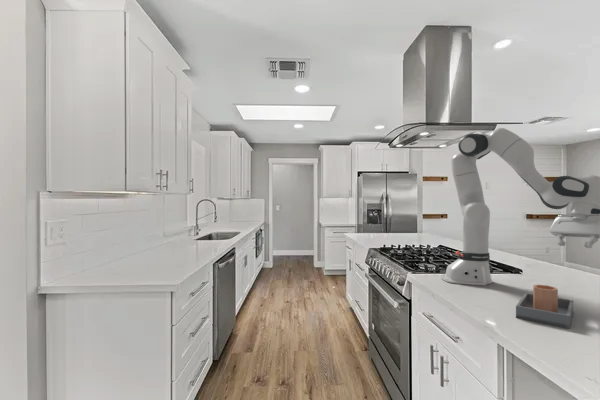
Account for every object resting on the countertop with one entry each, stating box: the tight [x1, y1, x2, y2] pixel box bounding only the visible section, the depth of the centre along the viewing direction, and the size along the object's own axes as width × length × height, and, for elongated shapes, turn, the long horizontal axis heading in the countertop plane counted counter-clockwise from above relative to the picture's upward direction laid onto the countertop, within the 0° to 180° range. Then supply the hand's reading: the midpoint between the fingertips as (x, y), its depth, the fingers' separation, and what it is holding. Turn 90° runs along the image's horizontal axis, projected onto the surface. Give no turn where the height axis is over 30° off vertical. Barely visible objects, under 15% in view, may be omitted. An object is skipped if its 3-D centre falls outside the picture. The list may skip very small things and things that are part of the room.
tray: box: [515, 292, 574, 330], centre depth 112 cm, size 20×14×4 cm
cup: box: [532, 284, 559, 313], centre depth 112 cm, size 6×6×8 cm
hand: (573, 246), depth 124 cm, fingers open, 8 cm apart
